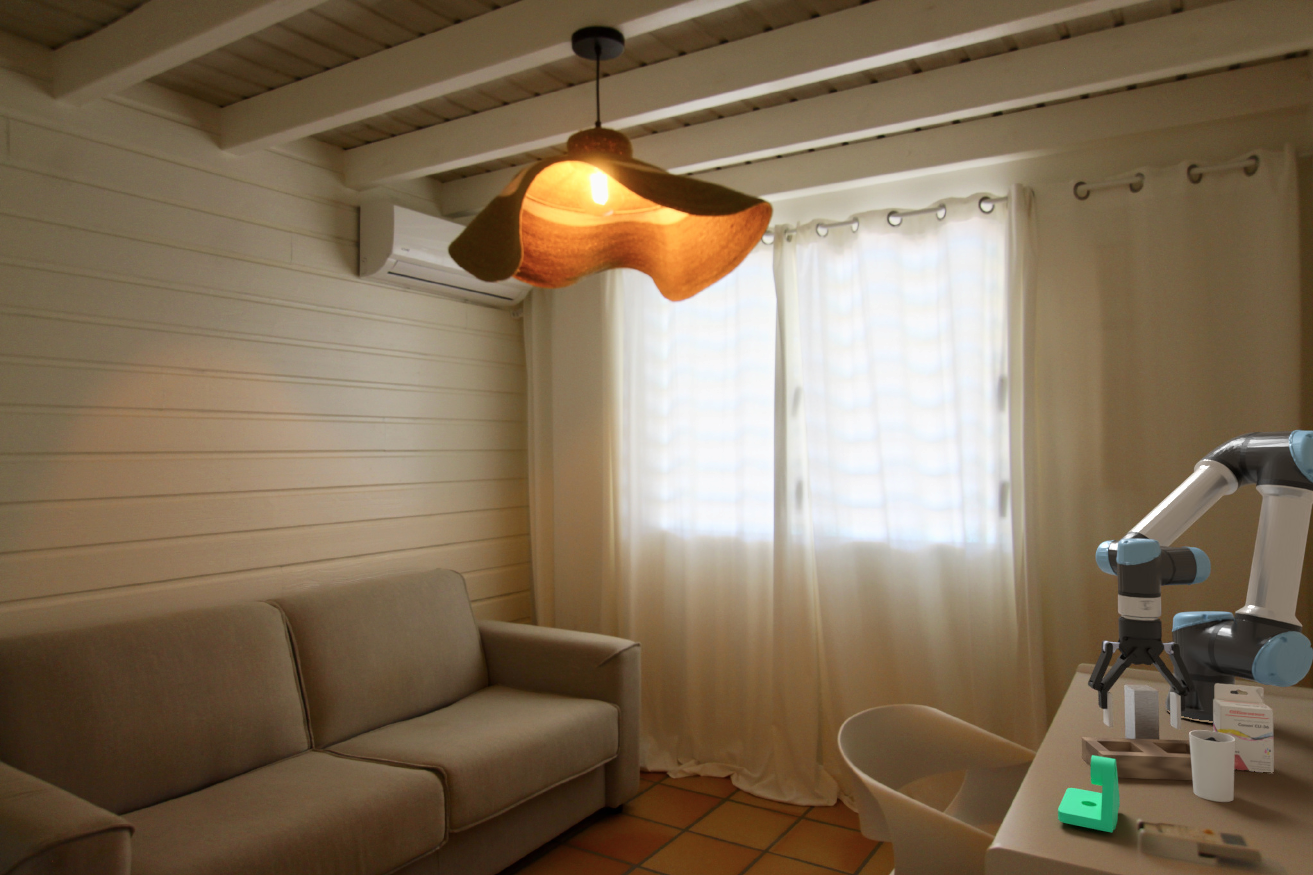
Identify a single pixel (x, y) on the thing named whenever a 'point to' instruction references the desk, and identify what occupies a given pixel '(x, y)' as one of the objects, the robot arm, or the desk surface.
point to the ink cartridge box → (1245, 725)
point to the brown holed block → (1143, 757)
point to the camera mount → (1094, 799)
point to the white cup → (1212, 765)
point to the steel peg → (1141, 712)
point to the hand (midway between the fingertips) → (1141, 726)
